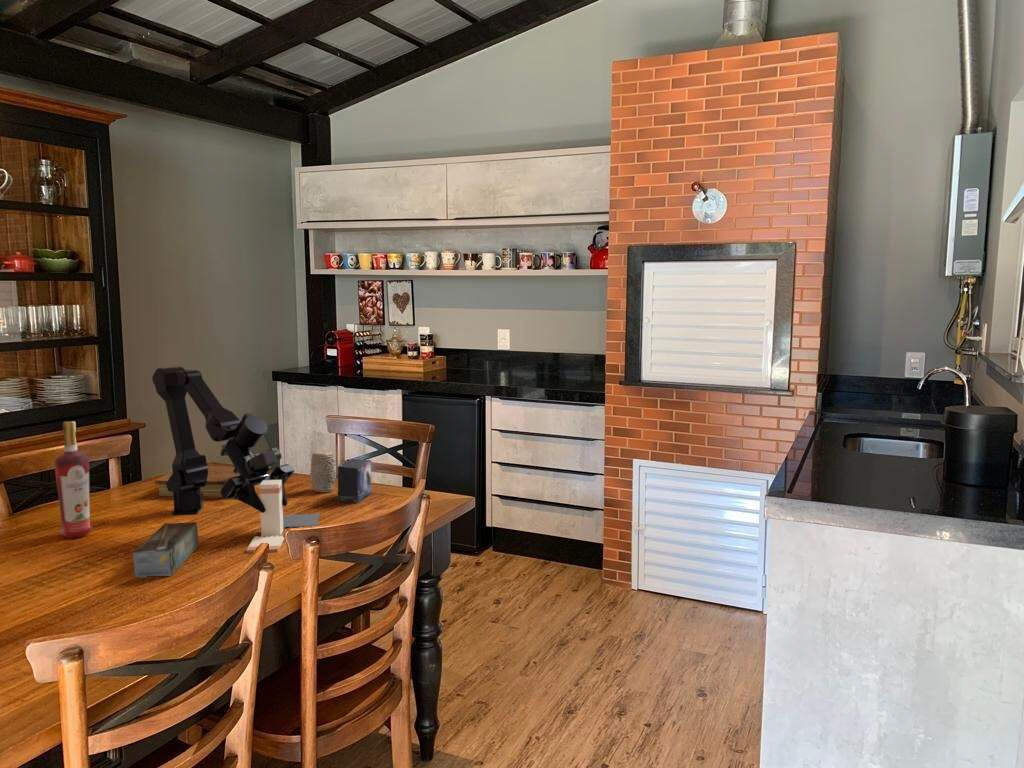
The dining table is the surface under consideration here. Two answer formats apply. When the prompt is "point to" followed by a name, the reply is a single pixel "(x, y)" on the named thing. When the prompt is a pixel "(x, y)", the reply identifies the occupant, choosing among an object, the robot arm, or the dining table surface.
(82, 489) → the liquor
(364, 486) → the small box
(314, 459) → the carving
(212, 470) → the diary
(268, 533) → the beige tall block
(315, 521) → the mat
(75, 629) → the dining table surface
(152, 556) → the grey piece
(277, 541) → the cream block pink end
